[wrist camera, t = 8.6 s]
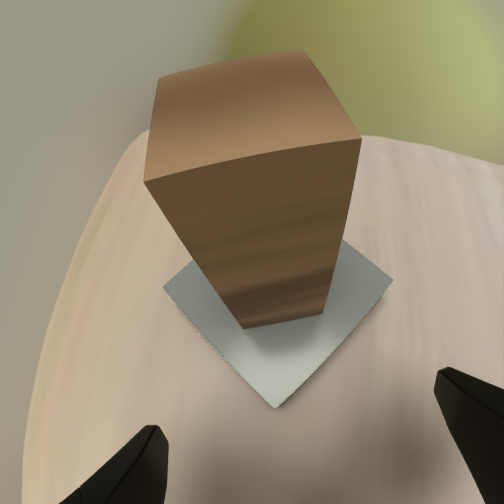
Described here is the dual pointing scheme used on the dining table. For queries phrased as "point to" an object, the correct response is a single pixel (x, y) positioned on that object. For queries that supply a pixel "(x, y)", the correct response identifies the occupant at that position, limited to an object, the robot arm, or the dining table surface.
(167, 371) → the dining table surface
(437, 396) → the robot arm
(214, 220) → the pillar
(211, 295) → the slate tile
